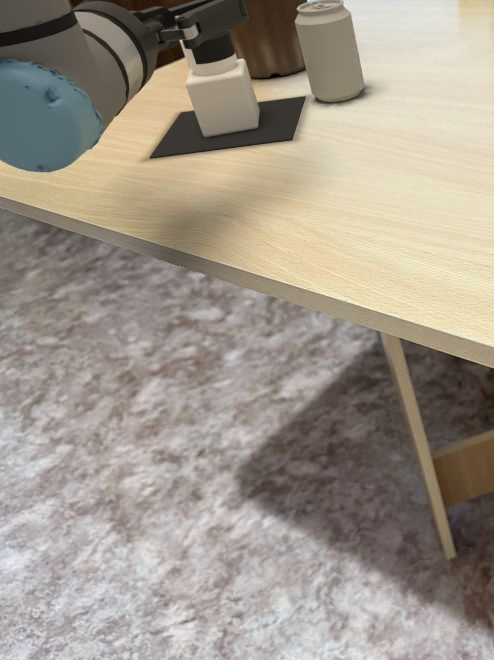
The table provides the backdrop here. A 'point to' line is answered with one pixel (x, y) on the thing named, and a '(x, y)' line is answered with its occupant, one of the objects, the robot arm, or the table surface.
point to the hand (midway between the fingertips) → (164, 0)
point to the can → (329, 50)
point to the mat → (272, 127)
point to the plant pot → (269, 38)
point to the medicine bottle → (220, 87)
